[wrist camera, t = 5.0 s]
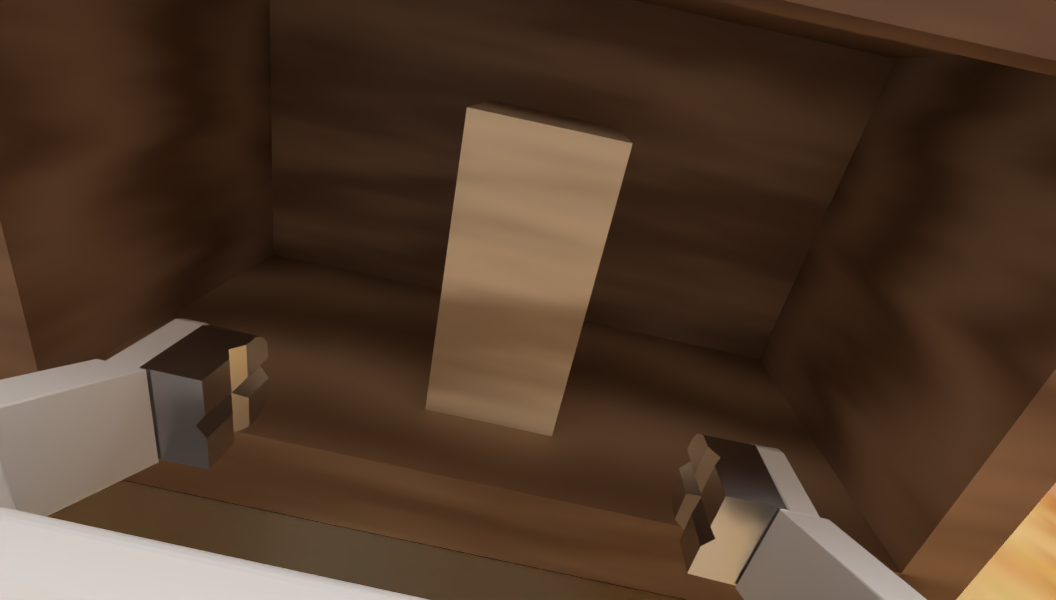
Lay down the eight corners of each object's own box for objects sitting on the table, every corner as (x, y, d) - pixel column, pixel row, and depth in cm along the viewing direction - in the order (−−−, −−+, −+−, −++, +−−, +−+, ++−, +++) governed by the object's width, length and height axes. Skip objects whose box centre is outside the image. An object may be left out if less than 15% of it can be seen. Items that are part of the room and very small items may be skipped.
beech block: (551, 436, 17) (632, 143, 13) (425, 409, 17) (467, 107, 13) (555, 368, 22) (618, 127, 17) (453, 346, 21) (491, 99, 17)
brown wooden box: (914, 647, 16) (1499, -40, 8) (0, 453, 16) (-279, -438, 8) (764, 396, 29) (939, 31, 21) (254, 286, 29) (240, -124, 21)
